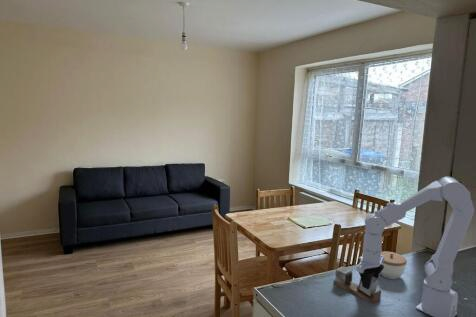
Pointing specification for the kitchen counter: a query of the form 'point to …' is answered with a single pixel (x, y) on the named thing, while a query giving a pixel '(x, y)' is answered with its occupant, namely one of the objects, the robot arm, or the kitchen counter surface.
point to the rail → (353, 285)
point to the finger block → (372, 286)
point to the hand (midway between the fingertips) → (369, 285)
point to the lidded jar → (393, 265)
